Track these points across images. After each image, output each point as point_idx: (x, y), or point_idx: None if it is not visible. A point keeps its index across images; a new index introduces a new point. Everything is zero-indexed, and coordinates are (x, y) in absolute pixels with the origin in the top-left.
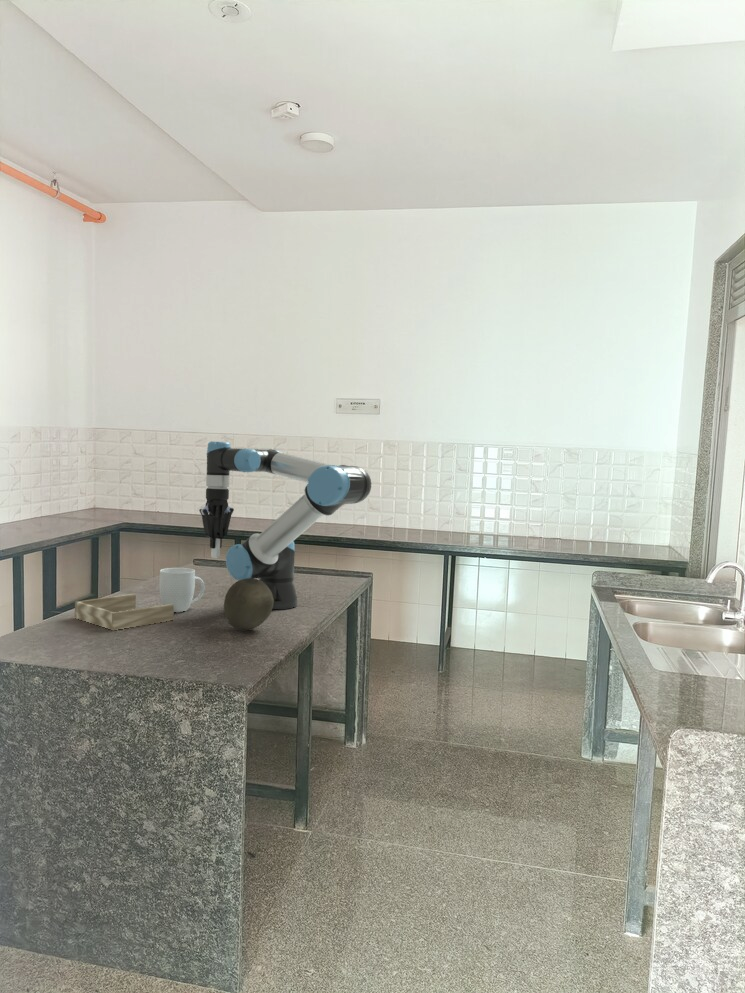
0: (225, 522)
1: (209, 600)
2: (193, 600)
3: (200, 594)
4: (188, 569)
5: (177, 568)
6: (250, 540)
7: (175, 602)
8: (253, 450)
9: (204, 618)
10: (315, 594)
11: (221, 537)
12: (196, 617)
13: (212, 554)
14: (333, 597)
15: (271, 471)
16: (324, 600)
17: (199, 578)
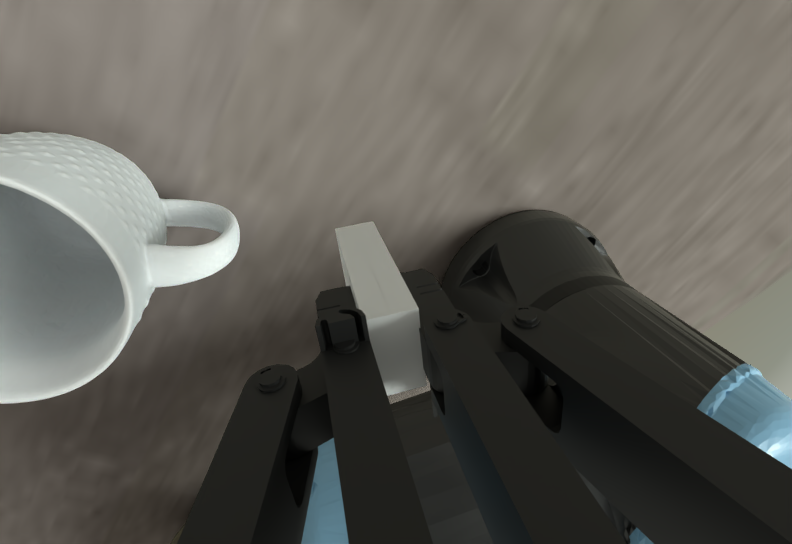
0: (642, 506)
1: (349, 66)
2: (180, 225)
3: (219, 231)
4: (105, 250)
5: (11, 187)
6: None
7: (46, 283)
8: None
9: (170, 371)
10: (756, 197)
11: (433, 413)
12: (145, 348)
13: (341, 257)
14: (744, 269)
15: None
16: (686, 295)
17: (191, 281)
